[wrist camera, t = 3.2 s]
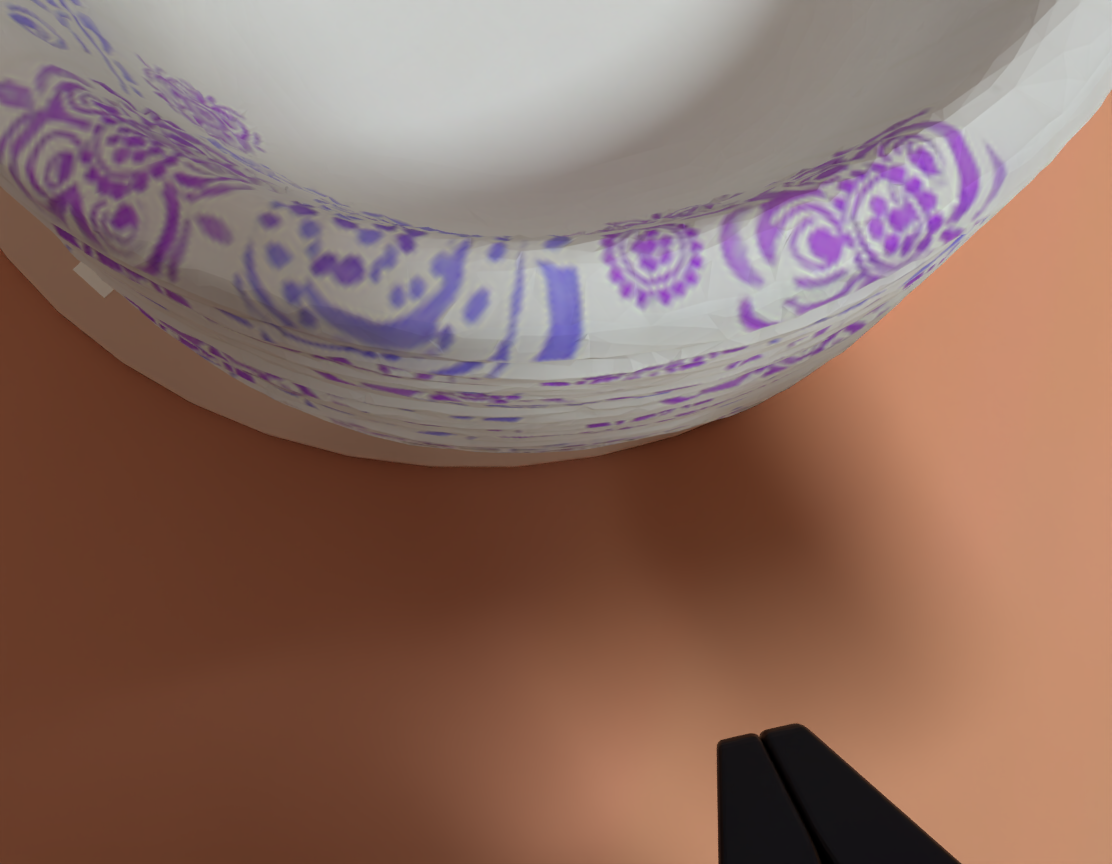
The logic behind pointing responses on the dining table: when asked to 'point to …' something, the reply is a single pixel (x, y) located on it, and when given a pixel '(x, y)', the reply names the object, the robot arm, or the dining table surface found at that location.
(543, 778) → the dining table surface
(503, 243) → the white floral bowl
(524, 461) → the centring plate
